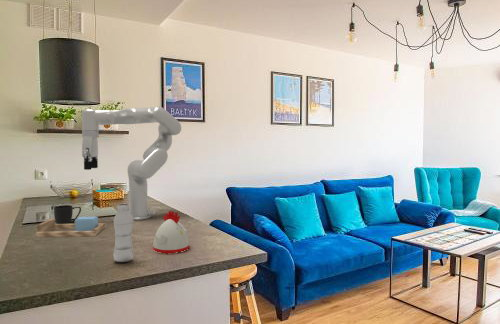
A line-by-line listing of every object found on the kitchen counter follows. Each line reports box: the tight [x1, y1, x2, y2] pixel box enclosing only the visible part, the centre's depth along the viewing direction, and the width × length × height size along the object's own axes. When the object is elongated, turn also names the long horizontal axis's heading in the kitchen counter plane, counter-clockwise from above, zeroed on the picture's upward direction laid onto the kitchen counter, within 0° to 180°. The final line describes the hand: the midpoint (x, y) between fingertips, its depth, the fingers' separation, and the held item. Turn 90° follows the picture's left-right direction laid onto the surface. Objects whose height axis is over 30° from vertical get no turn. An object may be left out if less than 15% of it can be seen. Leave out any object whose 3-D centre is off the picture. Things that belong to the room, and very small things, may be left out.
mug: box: [53, 204, 82, 224], centre depth 178 cm, size 8×12×10 cm
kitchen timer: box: [152, 210, 190, 253], centre depth 141 cm, size 14×14×15 cm
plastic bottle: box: [112, 203, 134, 263], centre depth 125 cm, size 6×7×20 cm
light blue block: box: [74, 216, 99, 231], centre depth 161 cm, size 8×6×6 cm
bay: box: [35, 217, 107, 238], centre depth 161 cm, size 24×16×6 cm, turn 96°
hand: (91, 168), depth 179 cm, fingers open, 9 cm apart
